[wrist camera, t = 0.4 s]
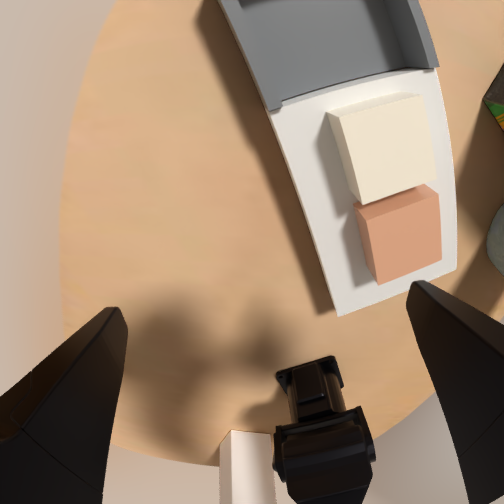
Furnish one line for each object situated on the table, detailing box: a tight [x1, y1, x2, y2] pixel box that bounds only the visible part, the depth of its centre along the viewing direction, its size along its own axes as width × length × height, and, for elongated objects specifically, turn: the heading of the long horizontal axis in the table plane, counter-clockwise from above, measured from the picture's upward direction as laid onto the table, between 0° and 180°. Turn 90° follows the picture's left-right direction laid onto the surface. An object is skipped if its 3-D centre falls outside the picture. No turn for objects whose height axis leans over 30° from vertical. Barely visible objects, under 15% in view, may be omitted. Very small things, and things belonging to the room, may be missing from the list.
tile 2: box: [353, 184, 442, 286], centre depth 19 cm, size 5×5×2 cm
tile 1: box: [326, 91, 437, 205], centre depth 16 cm, size 5×5×2 cm
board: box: [264, 67, 457, 317], centre depth 20 cm, size 16×11×3 cm
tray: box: [217, 0, 440, 111], centre depth 14 cm, size 9×11×4 cm
